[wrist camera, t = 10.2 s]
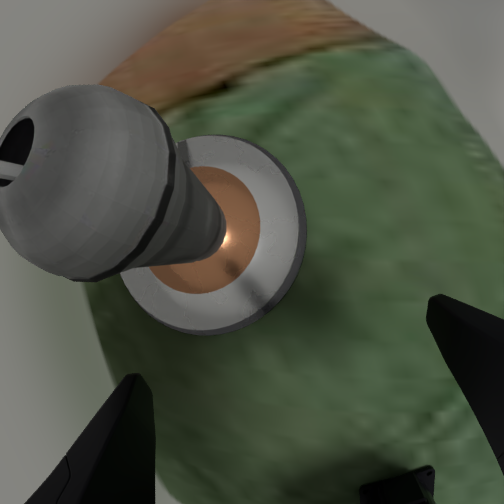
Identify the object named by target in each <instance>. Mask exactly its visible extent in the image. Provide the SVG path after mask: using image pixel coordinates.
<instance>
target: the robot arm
mask: <svg viewBox="0 0 504 504" xmlns="http://www.w3.org/2000/svg"><path fill="white" fill-rule="evenodd" d="M426 322H427V325H428V327H429V329H430V331H431V333H432V335H433V337H434V339H435V341H436V343H437V345H438V348H439V350H440V352H441V354H442V356H443V358H444V360H445V362H446V364H447V366H448V368H449V369H450V371H451V373H452V374H453V376H454V378H455V380H456V381H457V383H458V385H459V387H460V388H461V390H462V392H463V394H464V395H465V397H466V399H467V401H468V403H469V405H470V406H471V408H472V410H473V412H474V414H475V416H476V418H477V420H478V422H479V424H480V426H481V427H482V429H483V431H484V433H485V435H486V437H487V440H488V442H489V444H490V446H491V448H492V450H493V452H494V454H495V456H496V459H497V461H498V463H499V466H500V468H501V470H502V472H503V475H504V319H501V318H499V317H497V316H494V315H492V314H489V313H487V312H485V311H482V310H480V309H477V308H475V307H473V306H470V305H468V304H465V303H463V302H460V301H458V300H456V299H453V298H451V297H448V296H446V295H443V294H438V295H435V296H432V297H430V299H429V301H428V308H427V314H426ZM155 449H156V436H155V423H154V409H153V395H152V391H151V389H150V387H149V386H148V384H147V383H146V382H145V380H144V379H143V377H142V376H141V374H139V373H132V374H127V375H126V376H125V377H124V378H123V379H122V381H121V382H120V383H119V385H118V386H117V387H116V388H115V390H114V391H113V393H112V394H111V395H110V396H109V398H108V399H107V400H106V401H105V403H104V404H103V405H102V407H101V408H100V409H99V411H98V412H97V413H96V415H95V416H94V417H93V418H92V420H91V421H90V422H89V424H88V425H87V427H86V428H85V429H84V430H83V432H82V433H81V435H80V436H79V437H78V438H77V440H76V441H75V442H74V444H73V445H72V446H71V448H70V449H69V450H68V452H67V453H66V455H65V456H64V457H63V459H62V460H61V461H60V463H59V464H58V465H57V466H56V468H55V469H54V470H53V471H52V473H51V474H50V475H49V477H48V478H47V479H46V480H45V481H44V482H43V483H42V485H41V486H40V487H39V488H38V489H37V490H36V491H35V492H34V493H33V495H32V496H31V497H30V498H29V499H28V500H27V501H26V502H25V503H24V504H155ZM429 471H430V472H429ZM428 472H429V473H428ZM434 480H435V470H434V468H433V467H431V466H430V467H426V468H423V469H420V470H417V471H414V472H411V473H408V474H405V475H401V476H398V477H394V478H391V479H387V480H383V481H379V482H375V483H371V484H367V485H363V486H362V487H360V489H359V495H360V504H436V503H435V501H434V499H433V495H434ZM364 490H367V491H364Z"/></svg>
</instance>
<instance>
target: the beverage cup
mask: <svg viewBox="0 0 504 504" xmlns="http://www.w3.org/2000/svg"><path fill="white" fill-rule="evenodd" d="M0 229H1V231H2V233H3V234H4V236H5V237H6V239H7V240H8V242H9V243H10V245H11V246H12V247H13V248H14V249H15V250H16V252H17V253H18V254H19V255H21V256H22V257H23V258H25V259H26V260H28V261H29V262H31V263H32V264H34V265H36V266H38V267H39V268H41V269H43V270H45V271H47V272H49V273H52V274H55V275H58V276H63V277H65V278H67V279H69V280H72V281H76V282H98V281H100V280H103V279H105V278H108V277H110V276H113V275H115V274H118V273H122V272H125V271H127V270H130V269H132V268H140V267H151V266H161V265H172V264H183V263H192V262H195V261H201V260H204V259H206V258H209V257H210V256H212V255H213V254H214V253H216V252H217V251H218V249H219V248H220V246H221V245H222V244H223V242H224V239H225V235H226V219H225V216H224V213H223V211H222V210H221V208H220V206H219V204H218V203H217V202H216V200H215V199H214V198H213V196H212V195H211V194H210V193H209V191H208V190H207V189H206V188H205V186H204V185H203V184H202V183H201V182H200V180H199V179H198V178H197V177H196V175H195V174H194V173H193V172H192V170H191V169H190V168H189V167H188V165H187V164H186V163H185V162H184V161H183V159H182V158H181V155H180V152H179V150H178V148H177V146H176V144H175V142H174V140H173V138H172V137H171V133H170V129H169V127H168V126H167V124H166V123H165V122H164V120H163V119H162V118H161V116H160V115H159V114H158V112H157V111H156V110H155V109H154V108H152V107H150V106H148V105H146V104H144V103H142V102H140V101H138V100H136V99H134V98H132V97H130V96H128V95H126V94H124V93H122V92H120V91H117V90H115V89H113V88H111V87H107V86H102V85H72V86H65V87H62V88H58V89H55V90H53V91H51V92H49V93H47V94H44V95H42V96H40V97H39V98H37V99H35V100H33V101H32V102H31V103H29V104H28V105H27V106H26V107H25V108H24V109H22V110H21V111H20V112H19V113H18V114H17V115H16V116H15V117H14V118H13V120H12V121H11V122H10V124H9V125H8V126H7V128H6V129H5V131H4V132H3V135H2V136H1V138H0Z"/></svg>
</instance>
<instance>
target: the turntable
mask: <svg viewBox="0 0 504 504" xmlns="http://www.w3.org/2000/svg"><path fill="white" fill-rule="evenodd" d="M175 144H176V146H177V148H178V150H179V152H180V155H181V158H182V159H183V161H184V162H185V163H186V164H187V165H188V167H189V168H190V169H191V170H192V172H193V173H194V174H195V175H196V177H197V178H198V179H199V180H200V182H201V183H202V184H203V185H204V186H205V188H206V189H207V190H208V191H209V193H210V194H211V195H212V196H213V198H214V199H215V200H216V202H217V203H218V204H219V206H220V208H221V210H222V211H223V213H224V216H225V219H226V235H225V239H224V242H223V244H222V245H221V246H220V248H219V249H218V251H217V252H216V253H214V254H213V255H212V256H210V257H209V258H206V259H204V260H201V261H195V262H192V263H183V264H172V265H161V266H151V267H140V268H132V269H130V270H127V271H125V272H122V273H120V275H121V277H122V279H123V281H124V283H125V285H126V287H127V288H128V290H129V292H130V293H131V295H132V296H133V297H134V298H135V300H136V301H137V302H138V303H139V304H140V305H141V306H142V307H143V308H144V309H145V310H146V311H147V312H149V313H150V314H152V315H153V316H155V317H156V318H158V319H160V320H161V321H163V322H165V323H167V324H170V325H173V326H176V327H179V328H184V329H189V330H212V329H218V328H222V327H226V326H230V325H232V324H235V323H237V322H240V321H242V320H244V319H245V318H247V317H249V316H251V315H252V314H254V313H256V312H257V311H258V310H259V309H261V308H262V307H263V306H265V305H266V304H267V303H268V302H269V301H270V300H271V299H272V298H273V297H274V295H275V294H276V293H277V292H278V290H279V289H280V288H281V286H282V285H283V283H284V281H285V280H286V278H287V276H288V274H289V272H290V270H291V267H292V265H293V262H294V259H295V256H296V251H297V247H298V239H299V218H298V212H297V207H296V202H295V199H294V196H293V193H292V190H291V188H290V186H289V184H288V182H287V180H286V178H285V177H284V175H283V174H282V172H281V171H280V169H279V168H278V167H277V166H276V165H275V164H274V162H273V161H272V160H271V159H270V158H269V157H267V156H266V155H265V154H264V153H262V152H261V151H260V150H258V149H256V148H255V147H253V146H251V145H250V144H247V143H245V142H242V141H240V140H237V139H233V138H229V137H223V136H200V137H193V138H189V139H186V140H182V141H180V142H177V143H175Z"/></svg>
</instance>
